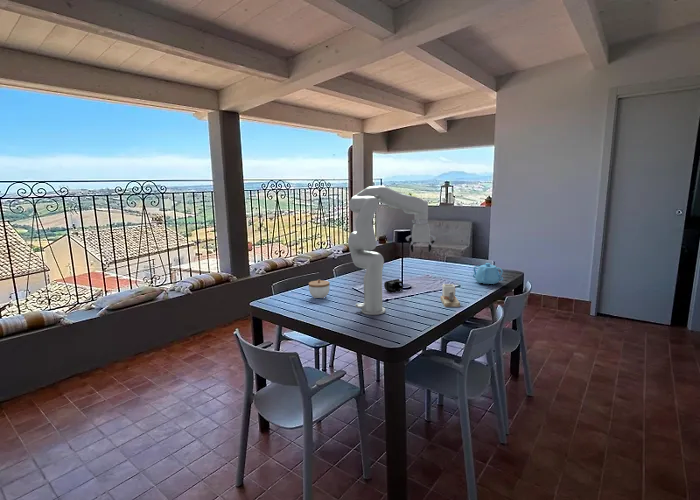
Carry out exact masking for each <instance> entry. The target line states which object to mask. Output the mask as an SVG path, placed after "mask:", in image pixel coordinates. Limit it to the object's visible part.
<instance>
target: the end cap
mask: <svg viewBox="0 0 700 500" xmlns="http://www.w3.org/2000/svg"><path fill="white" fill-rule="evenodd" d="M403 284H404V282H403V281H402V280H400V279H399V278H397V279H391V280H386V281H384V284H383V287H384V289H385V291H386V292H388V291H389V292H388V293H391V292H394V293H397V292H396V291H398V292H401V291H400V290H402V291H403V287H404V286H403Z"/></svg>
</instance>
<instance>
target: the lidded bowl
mask: <svg viewBox="0 0 700 500" xmlns="http://www.w3.org/2000/svg"><path fill="white" fill-rule="evenodd" d="M330 283H331V282H330V281H328V280H321V279H317V280H311V281H310V282H308V289H309V294H310V295H311V296H312V297H313V299H315V298H323V299H325V298H327V296H329V295H328V294H329V292H330ZM324 297H325V298H324Z"/></svg>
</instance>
